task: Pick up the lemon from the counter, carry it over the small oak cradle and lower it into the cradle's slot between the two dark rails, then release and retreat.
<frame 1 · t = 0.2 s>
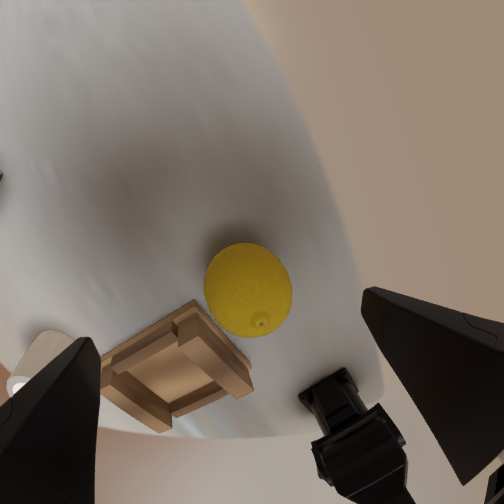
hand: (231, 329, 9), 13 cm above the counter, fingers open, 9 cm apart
shot glass: (60, 351, 22), on the counter
cradle: (173, 362, 25), on the counter
lemon: (235, 261, 23), on the counter
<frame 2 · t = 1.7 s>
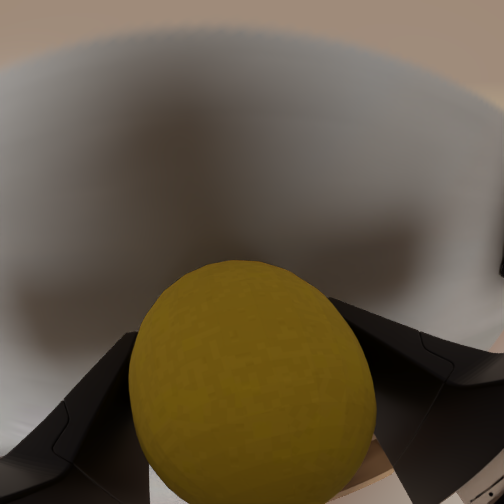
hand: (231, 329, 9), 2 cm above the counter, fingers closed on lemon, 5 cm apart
cradle: (332, 420, 15), on the counter
lemon: (222, 296, 10), on the counter, touching gripper
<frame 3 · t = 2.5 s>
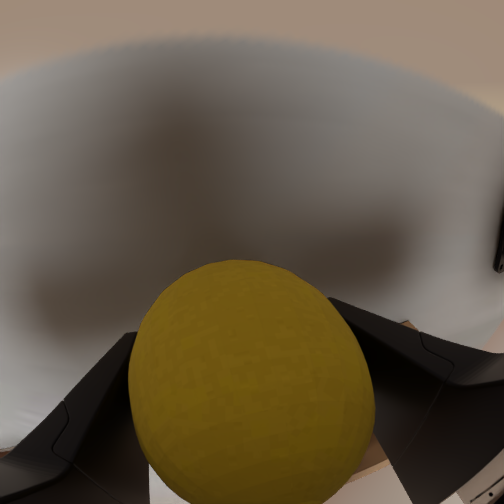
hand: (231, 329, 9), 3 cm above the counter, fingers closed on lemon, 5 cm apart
cradle: (330, 408, 16), on the counter
lemon: (222, 296, 10), point 1 cm above the counter, touching gripper
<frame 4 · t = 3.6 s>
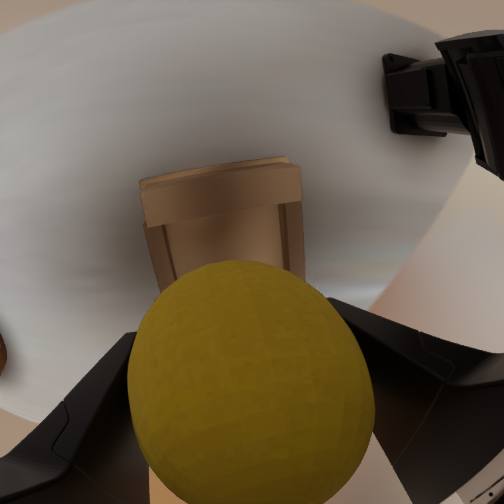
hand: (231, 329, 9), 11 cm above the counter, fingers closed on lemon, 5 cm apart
cradle: (226, 252, 19), on the counter
lemon: (221, 296, 10), point 9 cm above the counter, touching gripper
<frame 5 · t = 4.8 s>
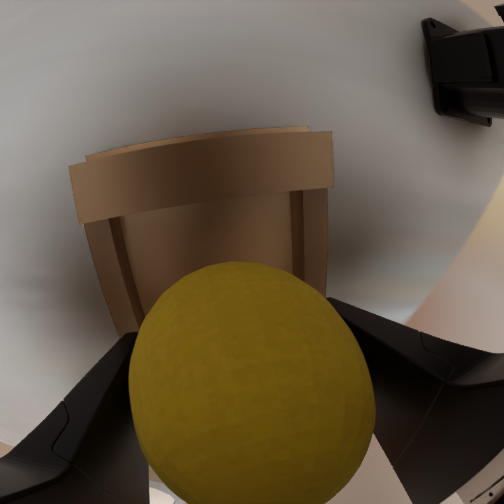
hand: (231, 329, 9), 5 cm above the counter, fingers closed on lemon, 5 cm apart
shot glass: (128, 402, 16), on the counter
cradle: (212, 263, 13), on the counter
lemon: (222, 297, 10), point 3 cm above the counter, touching gripper
when the fingers open (4 cm above the counter, at t = 5.4 s): lemon drops 2 cm, resting on cradle.
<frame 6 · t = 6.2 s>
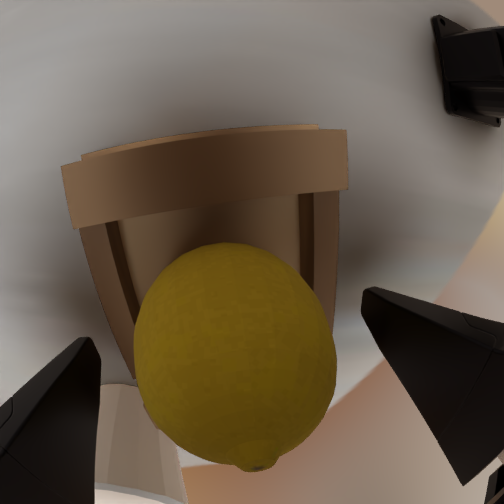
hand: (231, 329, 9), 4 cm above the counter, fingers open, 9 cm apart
shot glass: (128, 409, 15), on the counter
cradle: (215, 268, 13), on the counter
lemon: (219, 277, 12), point 1 cm above the counter, touching cradle
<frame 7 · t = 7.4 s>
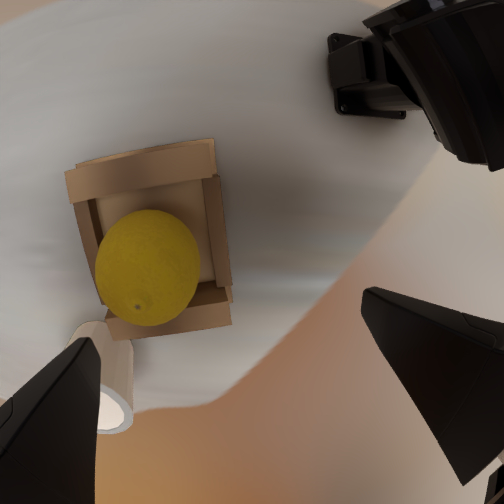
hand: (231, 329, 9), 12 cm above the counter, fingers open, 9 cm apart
shot glass: (103, 345, 22), on the counter
cradle: (156, 233, 19), on the counter
lemon: (156, 237, 18), point 1 cm above the counter, touching cradle
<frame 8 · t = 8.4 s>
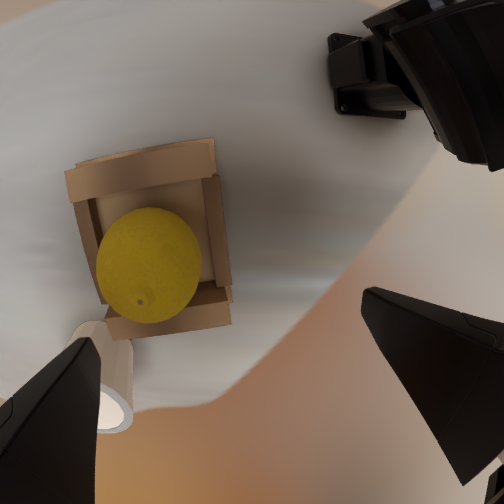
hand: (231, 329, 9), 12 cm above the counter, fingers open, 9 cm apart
shot glass: (103, 345, 22), on the counter
cradle: (156, 232, 19), on the counter
lemon: (155, 236, 18), point 1 cm above the counter, touching cradle
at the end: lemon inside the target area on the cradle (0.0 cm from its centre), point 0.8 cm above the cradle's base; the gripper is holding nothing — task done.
